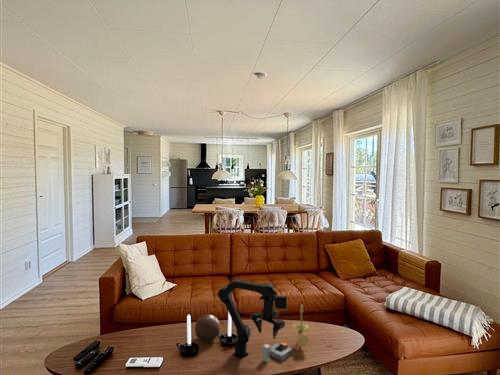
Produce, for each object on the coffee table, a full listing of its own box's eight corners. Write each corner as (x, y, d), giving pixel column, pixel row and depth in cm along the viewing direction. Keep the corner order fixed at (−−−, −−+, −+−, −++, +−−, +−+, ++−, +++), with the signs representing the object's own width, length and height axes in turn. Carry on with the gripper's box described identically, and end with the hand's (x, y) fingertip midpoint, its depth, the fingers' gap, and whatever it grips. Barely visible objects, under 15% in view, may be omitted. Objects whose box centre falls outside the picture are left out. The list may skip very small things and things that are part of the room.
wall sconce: (310, 352, 175) (312, 308, 175) (293, 351, 176) (295, 308, 175) (306, 339, 189) (307, 299, 189) (291, 339, 189) (292, 299, 189)
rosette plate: (282, 361, 166) (282, 353, 166) (267, 354, 172) (267, 346, 172) (292, 353, 173) (292, 346, 173) (277, 347, 180) (277, 339, 180)
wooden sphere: (222, 344, 182) (223, 319, 181) (197, 348, 176) (198, 322, 176) (215, 332, 195) (216, 309, 195) (192, 336, 190) (192, 312, 190)
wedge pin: (266, 362, 164) (267, 347, 164) (262, 360, 166) (262, 345, 166) (269, 360, 166) (270, 345, 166) (265, 358, 168) (265, 343, 168)
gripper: (290, 307, 169) (289, 335, 169) (262, 298, 180) (261, 325, 181) (279, 314, 160) (278, 343, 161) (251, 304, 171) (250, 332, 172)
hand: (267, 335), depth 169 cm, fingers open, 9 cm apart
